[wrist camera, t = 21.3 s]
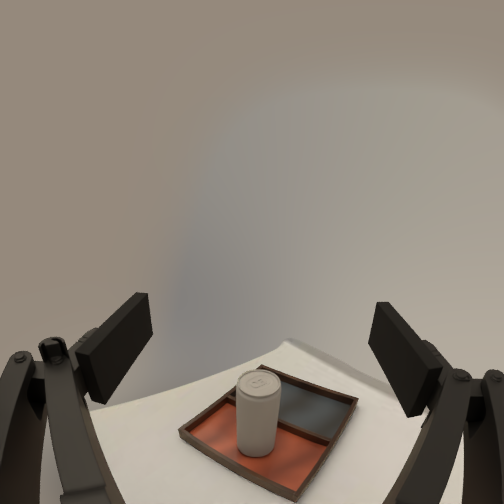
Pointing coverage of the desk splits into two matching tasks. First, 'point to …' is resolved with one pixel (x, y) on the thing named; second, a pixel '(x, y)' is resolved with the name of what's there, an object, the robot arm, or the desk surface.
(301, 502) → the desk surface
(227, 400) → the sorting tray
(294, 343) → the desk surface
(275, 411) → the beverage can
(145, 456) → the desk surface
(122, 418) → the desk surface
